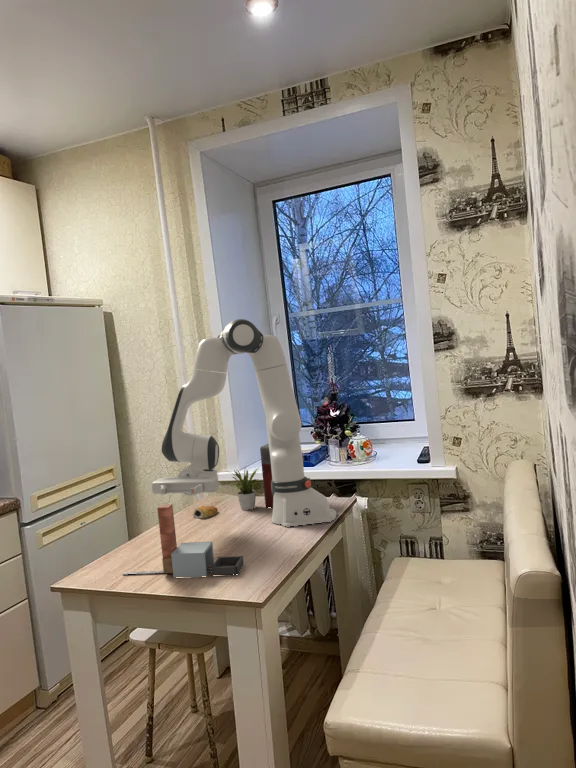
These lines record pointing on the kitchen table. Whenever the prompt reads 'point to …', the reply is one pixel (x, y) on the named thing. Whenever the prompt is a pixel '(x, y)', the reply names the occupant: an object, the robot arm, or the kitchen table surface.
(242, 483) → the house plant
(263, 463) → the toy vending machine
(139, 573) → the rail
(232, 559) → the dark grey tray
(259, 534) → the kitchen table surface
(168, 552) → the upright post on base
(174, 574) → the tunnel
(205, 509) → the pastry
